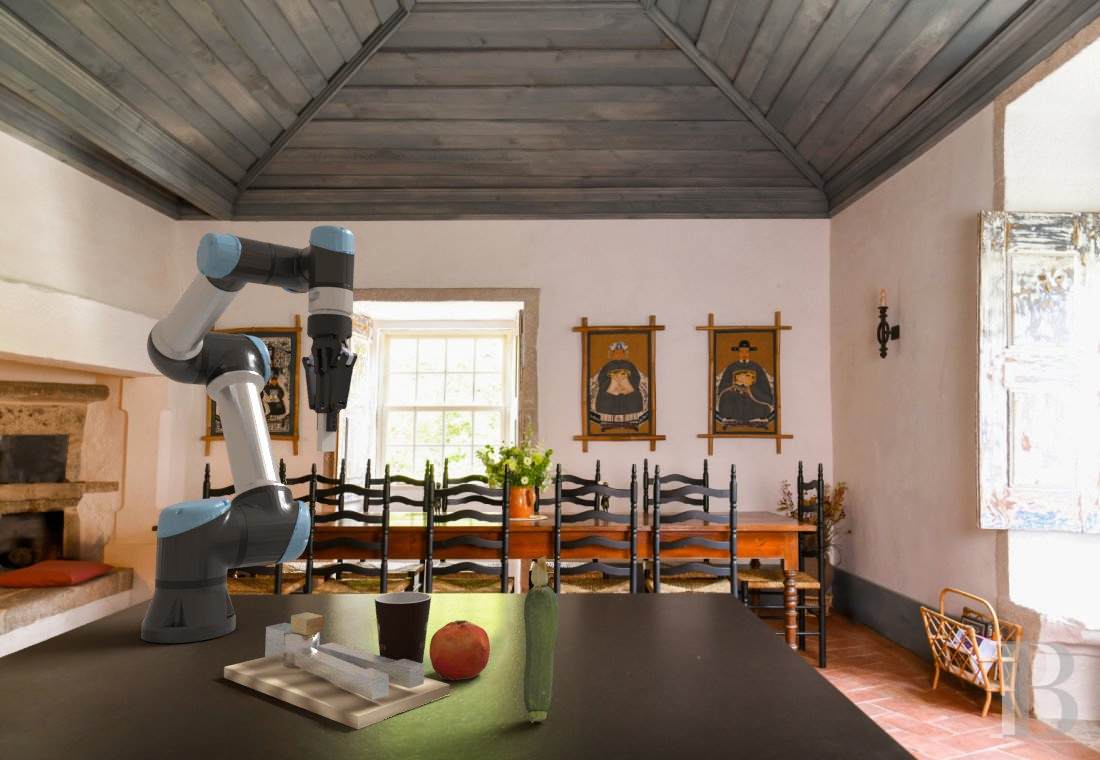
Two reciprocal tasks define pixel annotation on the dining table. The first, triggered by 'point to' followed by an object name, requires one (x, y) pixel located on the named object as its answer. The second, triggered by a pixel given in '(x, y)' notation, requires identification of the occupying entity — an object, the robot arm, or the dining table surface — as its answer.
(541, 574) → the vegetable
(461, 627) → the tomato
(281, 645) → the base
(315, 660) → the tong arm
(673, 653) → the dining table surface
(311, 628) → the tab
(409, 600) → the coffee mug
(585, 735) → the dining table surface
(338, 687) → the board
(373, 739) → the dining table surface
